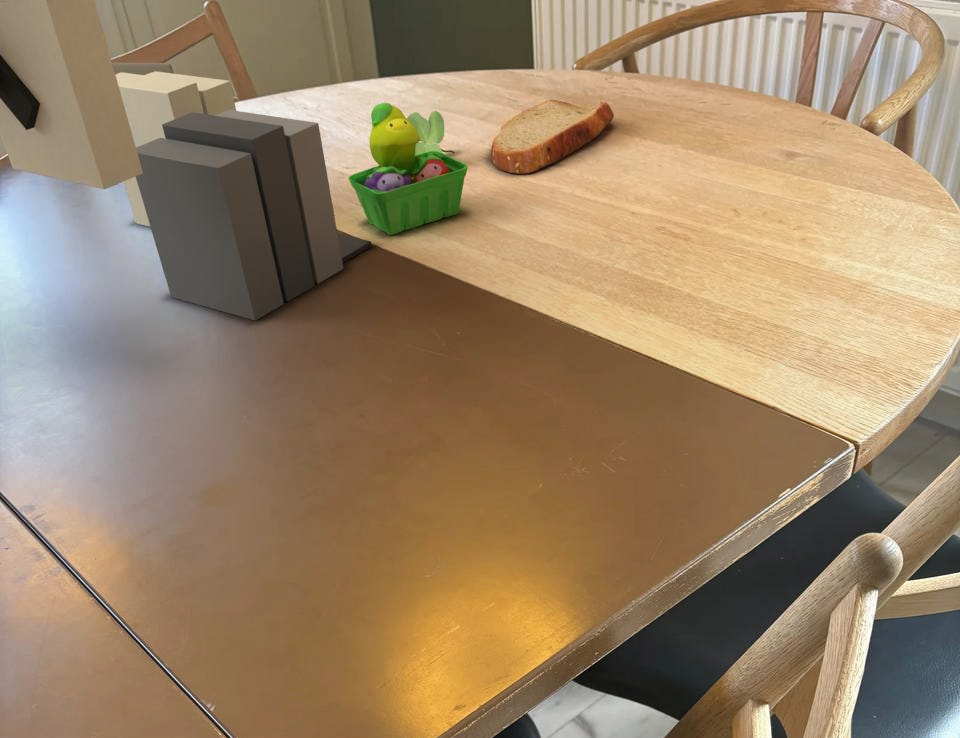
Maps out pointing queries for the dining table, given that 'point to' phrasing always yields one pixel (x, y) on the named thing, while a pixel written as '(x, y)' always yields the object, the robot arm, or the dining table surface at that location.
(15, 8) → the white book
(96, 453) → the dining table surface
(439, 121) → the seedling
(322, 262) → the grey books
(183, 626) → the dining table surface
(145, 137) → the white books
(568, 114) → the bread slice
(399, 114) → the fruit basket
